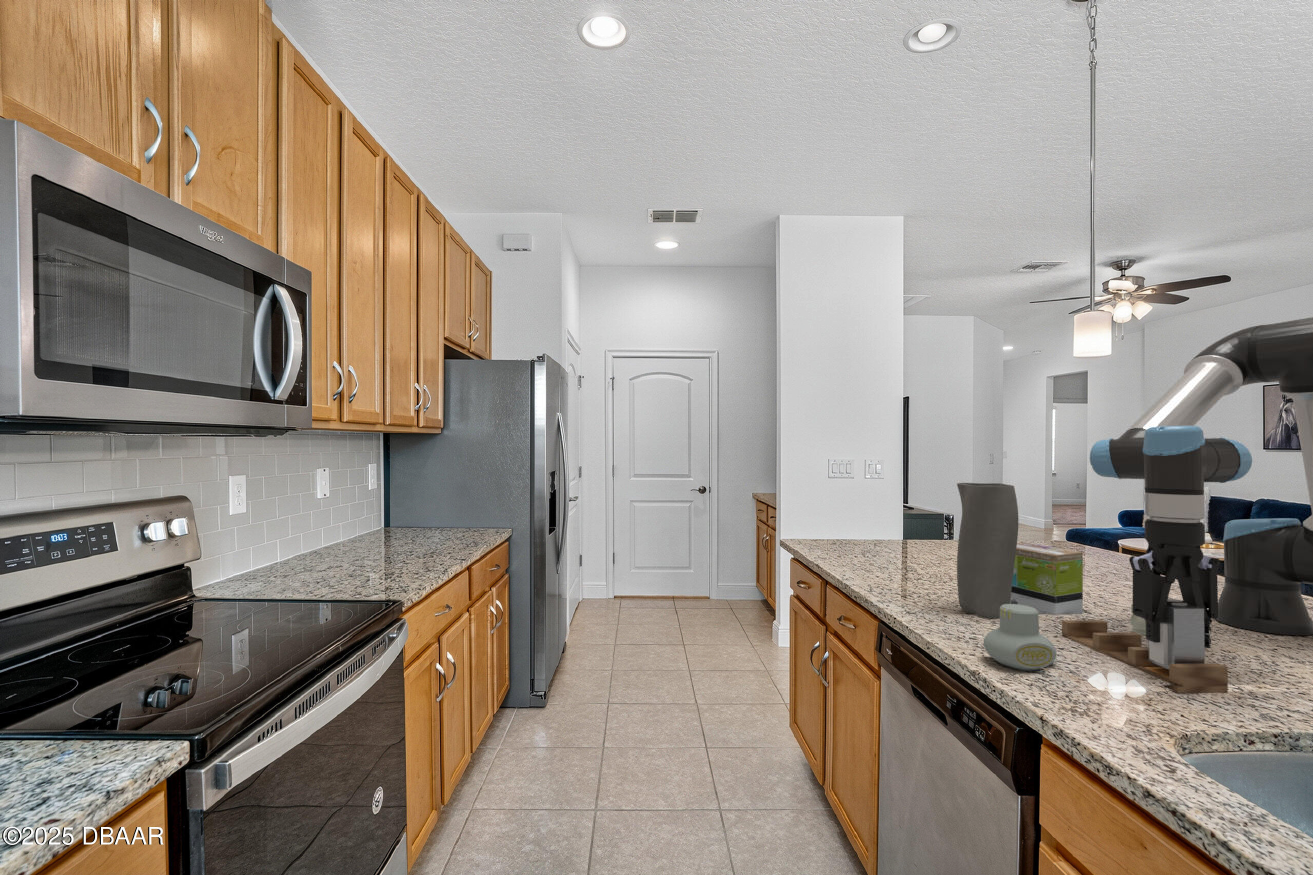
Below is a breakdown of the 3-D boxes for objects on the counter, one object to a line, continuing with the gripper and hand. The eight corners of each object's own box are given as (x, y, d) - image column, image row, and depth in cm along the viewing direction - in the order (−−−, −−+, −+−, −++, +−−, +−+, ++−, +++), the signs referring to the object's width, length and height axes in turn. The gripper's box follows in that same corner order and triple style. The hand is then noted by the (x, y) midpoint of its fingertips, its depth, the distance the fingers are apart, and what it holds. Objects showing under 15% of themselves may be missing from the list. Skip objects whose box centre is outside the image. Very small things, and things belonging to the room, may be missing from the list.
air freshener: (1034, 656, 110) (1034, 601, 110) (1066, 673, 102) (1065, 614, 102) (975, 656, 110) (975, 601, 110) (1002, 673, 102) (1002, 614, 102)
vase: (1005, 610, 141) (1004, 482, 142) (1028, 625, 129) (1027, 486, 130) (949, 608, 143) (948, 482, 144) (966, 622, 131) (965, 485, 132)
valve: (1128, 640, 120) (1209, 654, 112) (1127, 606, 120) (1209, 619, 112) (1132, 633, 125) (1211, 646, 116) (1132, 601, 125) (1211, 612, 116)
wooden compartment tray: (1101, 640, 119) (1101, 620, 119) (1227, 692, 94) (1227, 666, 94) (1062, 640, 119) (1062, 620, 119) (1178, 693, 94) (1177, 667, 94)
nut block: (1176, 660, 101) (1175, 597, 101) (1204, 671, 96) (1203, 604, 96) (1147, 660, 101) (1147, 597, 101) (1174, 671, 96) (1173, 605, 96)
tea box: (994, 603, 148) (994, 543, 148) (1022, 599, 152) (1021, 541, 152) (1056, 620, 134) (1055, 553, 134) (1084, 615, 138) (1084, 550, 138)
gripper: (1205, 516, 103) (1207, 653, 103) (1102, 516, 102) (1104, 654, 102) (1249, 522, 95) (1252, 669, 95) (1139, 522, 95) (1141, 670, 94)
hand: (1175, 661), depth 99 cm, fingers closed on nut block, 5 cm apart
